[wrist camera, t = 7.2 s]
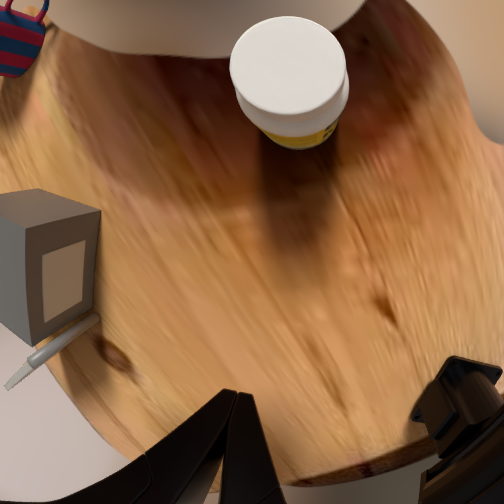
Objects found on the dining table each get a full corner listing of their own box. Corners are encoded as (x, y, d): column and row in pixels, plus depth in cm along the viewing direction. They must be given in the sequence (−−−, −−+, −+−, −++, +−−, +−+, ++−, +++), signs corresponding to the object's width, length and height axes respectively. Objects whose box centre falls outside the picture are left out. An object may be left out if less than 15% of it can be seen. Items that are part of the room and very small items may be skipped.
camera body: (101, 210, 21) (16, 231, 13) (93, 314, 23) (27, 360, 15) (37, 188, 22) (-38, 201, 14) (34, 281, 24) (-29, 311, 16)
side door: (92, 307, 23) (26, 352, 15) (101, 319, 23) (37, 367, 15) (53, 343, 25) (0, 381, 18) (59, 353, 25) (8, 392, 18)
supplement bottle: (333, 156, 17) (351, 139, 9) (254, 145, 18) (208, 123, 10) (341, 80, 16) (359, 15, 8) (263, 72, 16) (227, 6, 8)
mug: (6, 49, 19) (-38, 40, 13) (66, -13, 17) (22, -34, 10) (9, 90, 20) (-41, 85, 14) (73, 25, 18) (20, 3, 11)
